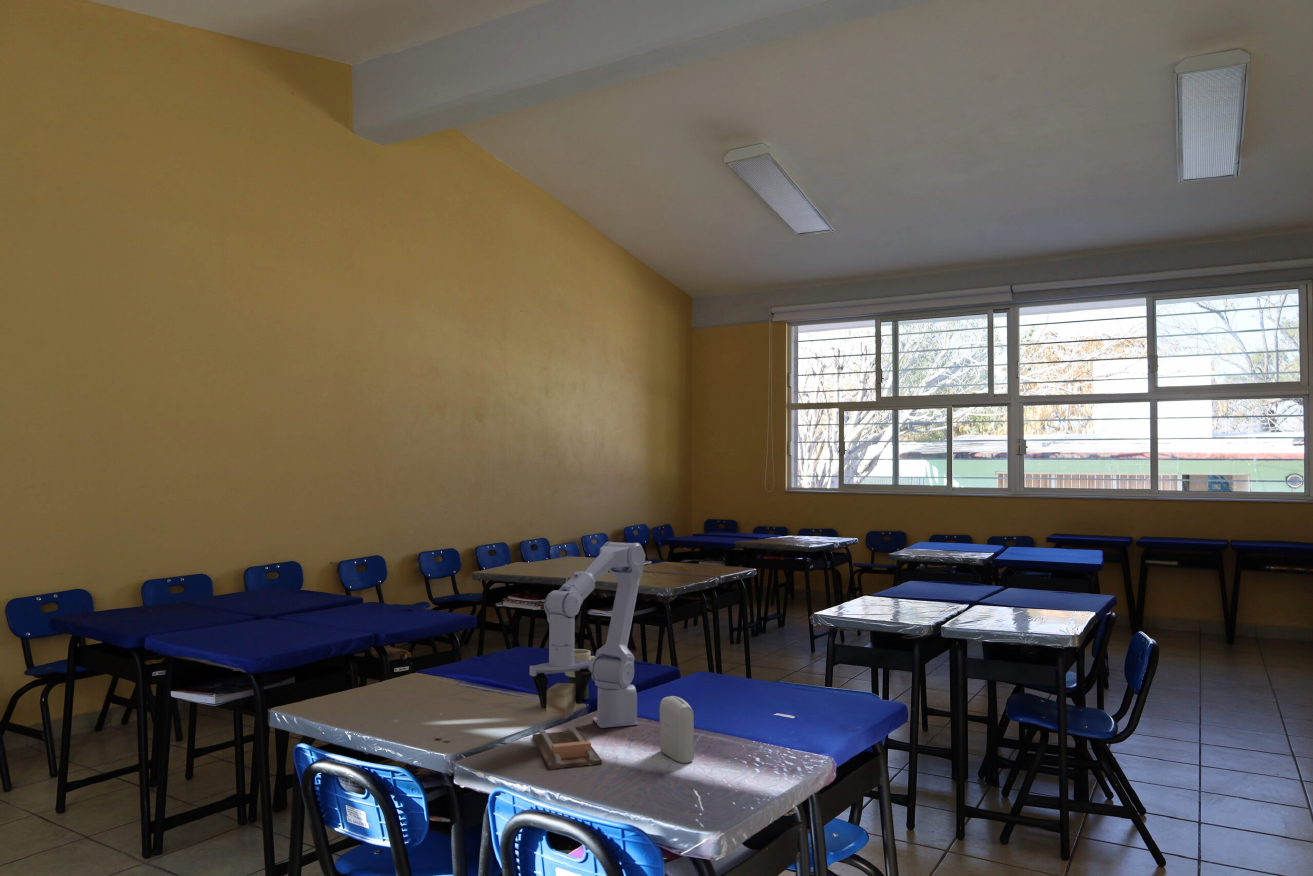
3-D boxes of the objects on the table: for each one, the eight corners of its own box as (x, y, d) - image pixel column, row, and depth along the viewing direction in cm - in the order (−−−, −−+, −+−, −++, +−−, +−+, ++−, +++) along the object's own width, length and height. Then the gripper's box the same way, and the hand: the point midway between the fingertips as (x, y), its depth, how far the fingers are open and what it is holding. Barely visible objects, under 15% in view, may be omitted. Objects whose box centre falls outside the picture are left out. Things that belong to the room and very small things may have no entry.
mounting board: (579, 733, 188) (579, 730, 188) (601, 764, 167) (601, 760, 167) (532, 738, 184) (532, 734, 184) (549, 769, 164) (549, 765, 164)
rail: (573, 731, 187) (573, 726, 187) (594, 760, 167) (594, 754, 167) (539, 734, 184) (539, 729, 185) (556, 764, 165) (556, 758, 165)
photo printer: (657, 750, 176) (657, 693, 176) (674, 748, 177) (674, 691, 178) (678, 765, 166) (678, 704, 167) (696, 762, 168) (696, 702, 169)
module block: (575, 710, 184) (575, 683, 184) (565, 718, 177) (565, 691, 177) (557, 709, 185) (557, 683, 185) (546, 717, 178) (546, 690, 178)
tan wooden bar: (588, 752, 172) (588, 740, 172) (590, 755, 170) (591, 743, 170) (551, 756, 169) (552, 744, 169) (553, 759, 167) (553, 747, 168)
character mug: (565, 706, 212) (566, 656, 213) (553, 700, 218) (553, 651, 219) (601, 699, 218) (601, 651, 219) (588, 694, 224) (588, 647, 225)
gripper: (585, 638, 189) (584, 697, 188) (525, 643, 182) (525, 704, 181) (596, 643, 182) (596, 704, 181) (535, 649, 176) (534, 712, 175)
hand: (561, 705), depth 181 cm, fingers closed on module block, 7 cm apart
